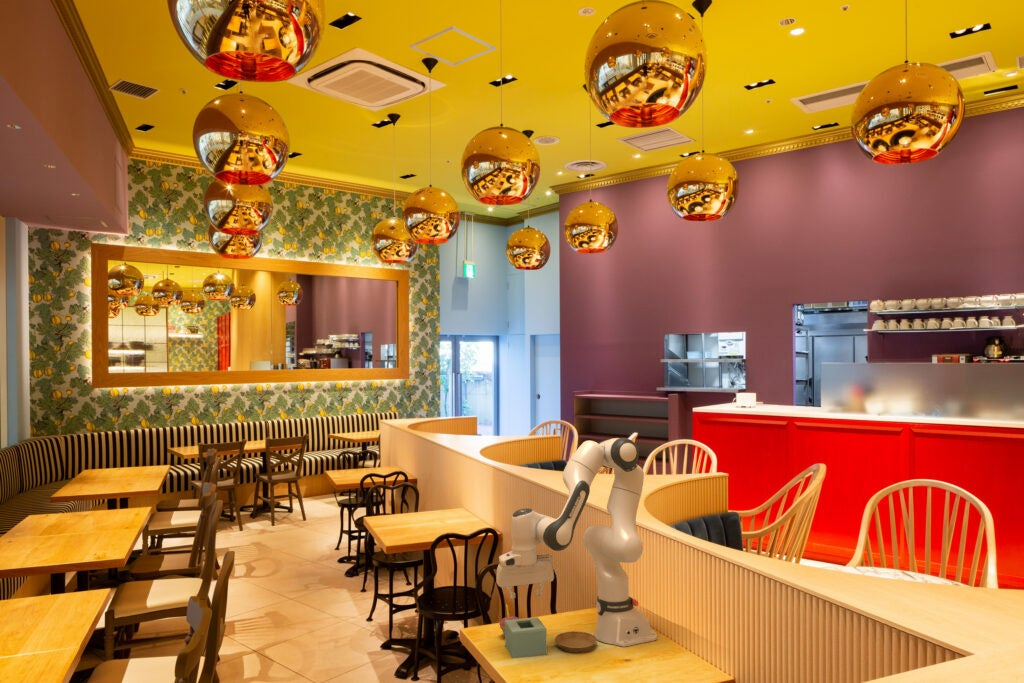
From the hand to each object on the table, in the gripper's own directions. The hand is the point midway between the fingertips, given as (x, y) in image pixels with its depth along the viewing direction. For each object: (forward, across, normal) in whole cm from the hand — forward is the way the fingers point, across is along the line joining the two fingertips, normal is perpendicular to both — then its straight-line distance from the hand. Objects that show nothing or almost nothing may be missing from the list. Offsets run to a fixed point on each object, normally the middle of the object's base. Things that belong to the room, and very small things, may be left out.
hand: (526, 596), depth 234 cm
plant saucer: (+19, -17, +1) cm, 26 cm away
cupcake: (+18, +3, -13) cm, 23 cm away
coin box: (+18, +1, 0) cm, 18 cm away
